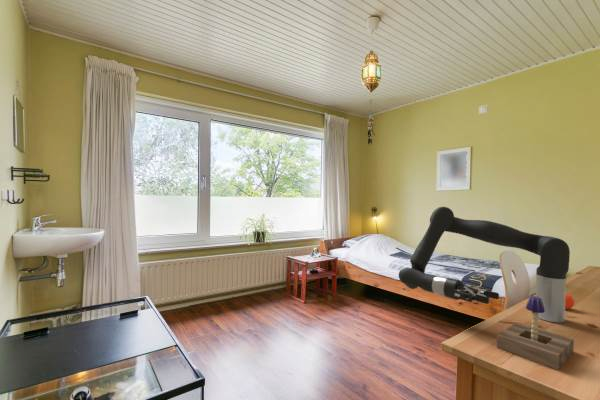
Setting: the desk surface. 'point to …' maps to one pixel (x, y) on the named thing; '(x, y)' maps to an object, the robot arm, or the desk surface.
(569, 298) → the clementine
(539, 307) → the toy lamp
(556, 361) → the socket block
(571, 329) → the desk surface
